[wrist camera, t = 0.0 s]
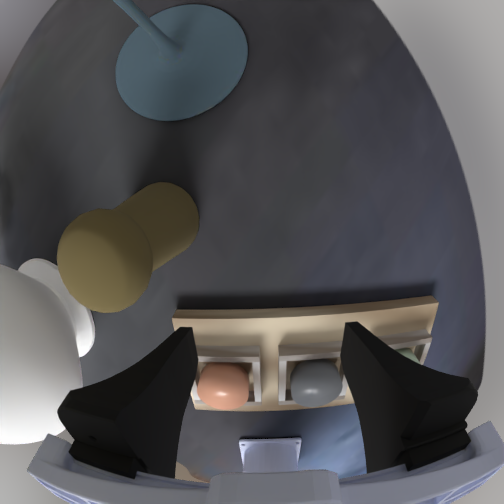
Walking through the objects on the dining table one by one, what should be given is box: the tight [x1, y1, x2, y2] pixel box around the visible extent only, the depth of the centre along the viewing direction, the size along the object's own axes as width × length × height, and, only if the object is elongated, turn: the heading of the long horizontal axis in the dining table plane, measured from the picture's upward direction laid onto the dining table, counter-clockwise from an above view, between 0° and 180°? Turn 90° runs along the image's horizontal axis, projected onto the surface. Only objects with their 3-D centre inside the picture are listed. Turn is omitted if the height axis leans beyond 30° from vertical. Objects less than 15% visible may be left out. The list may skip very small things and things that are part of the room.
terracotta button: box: [197, 362, 249, 410], centre depth 22 cm, size 4×4×2 cm
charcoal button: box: [290, 359, 343, 407], centre depth 22 cm, size 4×4×2 cm
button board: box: [172, 295, 439, 411], centre depth 24 cm, size 12×24×3 cm, turn 93°
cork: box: [57, 182, 199, 313], centre depth 16 cm, size 6×6×11 cm
